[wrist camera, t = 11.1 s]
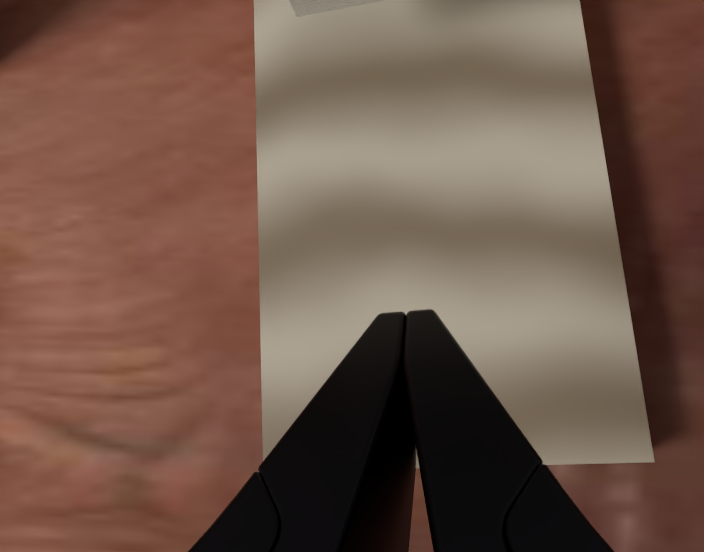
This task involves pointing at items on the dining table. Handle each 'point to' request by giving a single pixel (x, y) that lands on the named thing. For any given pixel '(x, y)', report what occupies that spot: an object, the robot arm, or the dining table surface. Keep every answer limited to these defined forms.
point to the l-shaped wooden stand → (445, 209)
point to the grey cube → (324, 5)
